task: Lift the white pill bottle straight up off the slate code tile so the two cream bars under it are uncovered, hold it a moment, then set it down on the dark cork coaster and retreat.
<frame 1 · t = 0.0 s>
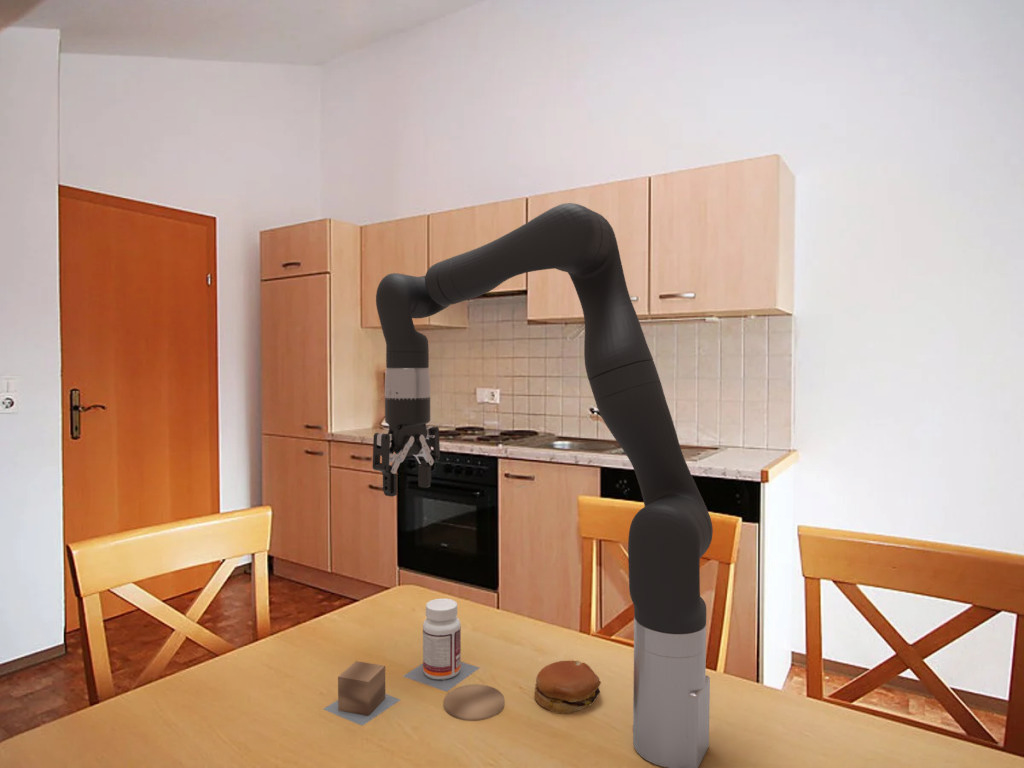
hand: (408, 491, 106), 29 cm above the table, tool pointing down, fingers open, 8 cm apart
coaster: (474, 703, 94), on the table
pill bottle: (441, 672, 104), resting on code tile A
code tile B: (362, 704, 94), on the table
code tile A: (441, 672, 104), on the table
burger: (567, 700, 96), on the table
walnut block: (362, 704, 94), resting on code tile B
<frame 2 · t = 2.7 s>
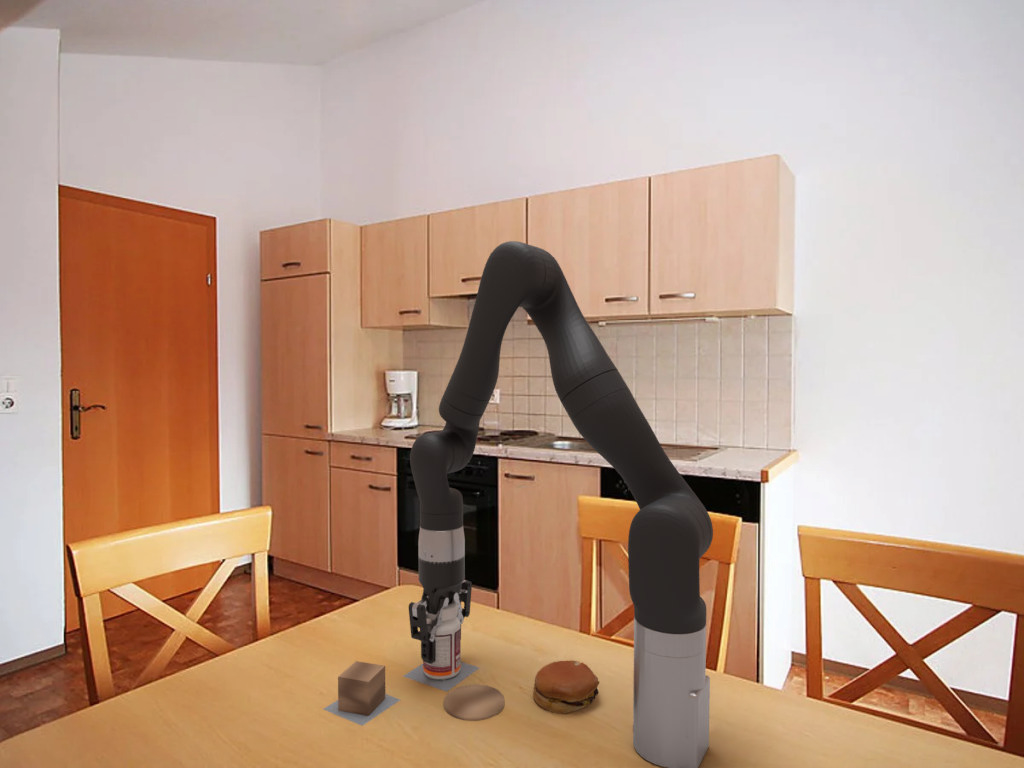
hand: (441, 653, 104), 3 cm above the table, tool pointing down, fingers closed on pill bottle, 6 cm apart
pill bottle: (441, 672, 104), resting on code tile A, touching gripper
everything else where it was.
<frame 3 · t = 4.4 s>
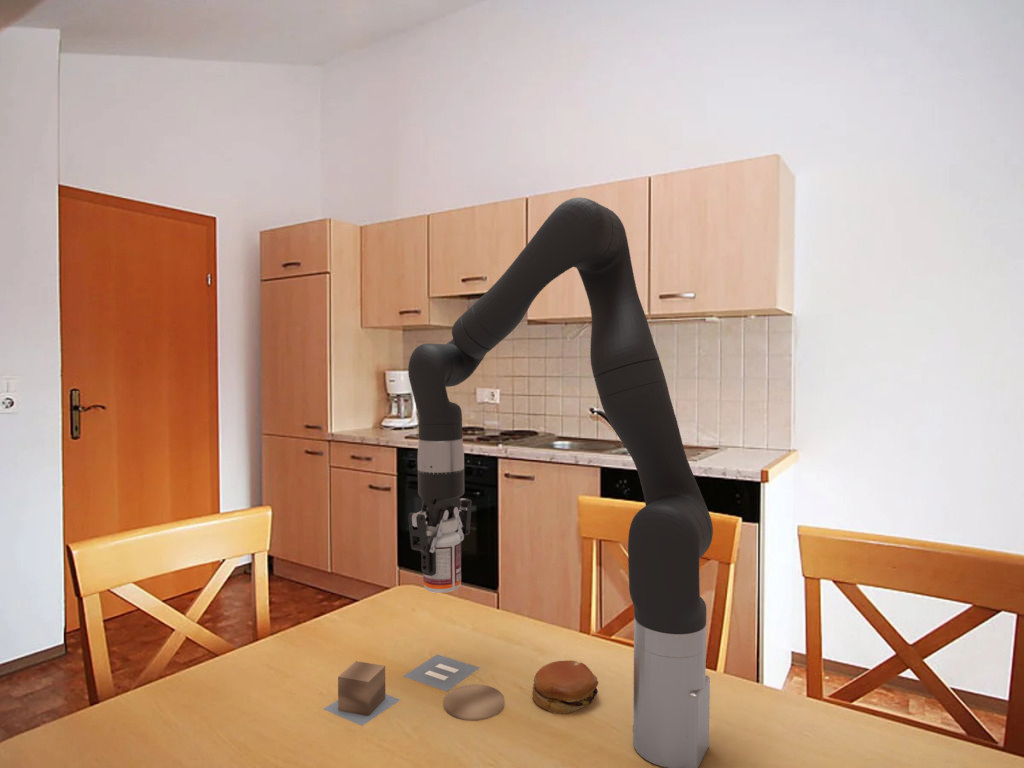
hand: (442, 568, 103), 17 cm above the table, tool pointing down, fingers closed on pill bottle, 6 cm apart
pill bottle: (442, 588, 103), point 14 cm above the table, touching gripper
everything else where it was.
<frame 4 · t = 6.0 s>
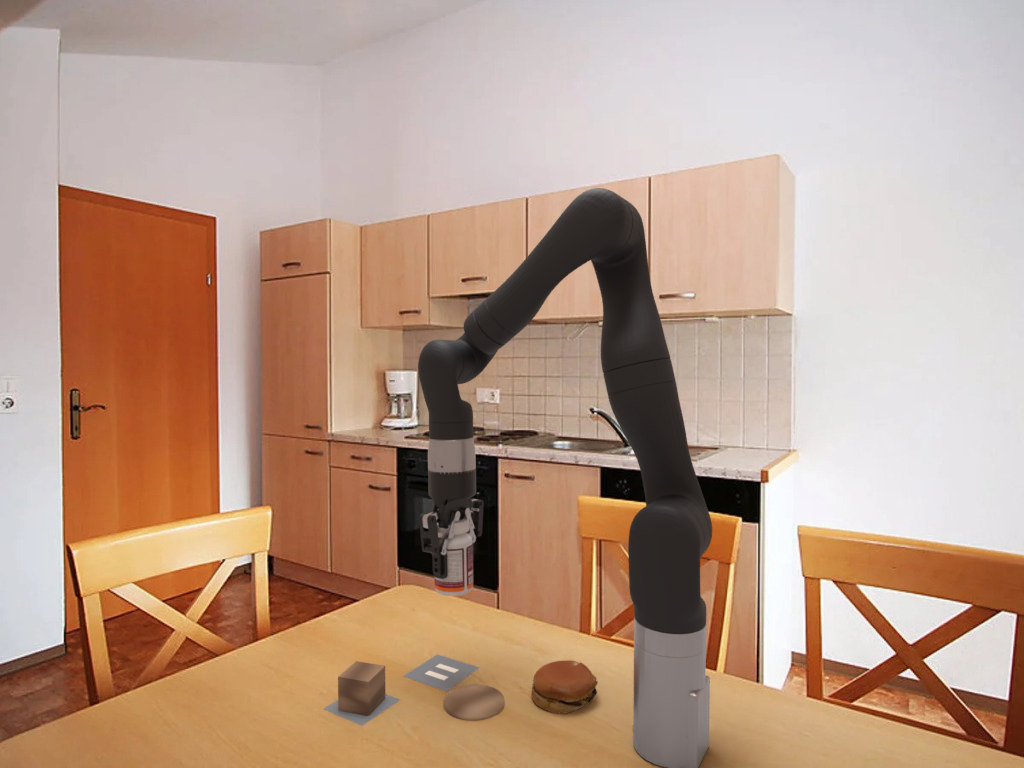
hand: (454, 571, 100), 18 cm above the table, tool pointing down, fingers closed on pill bottle, 6 cm apart
pill bottle: (454, 591, 100), point 15 cm above the table, touching gripper
everything else where it was.
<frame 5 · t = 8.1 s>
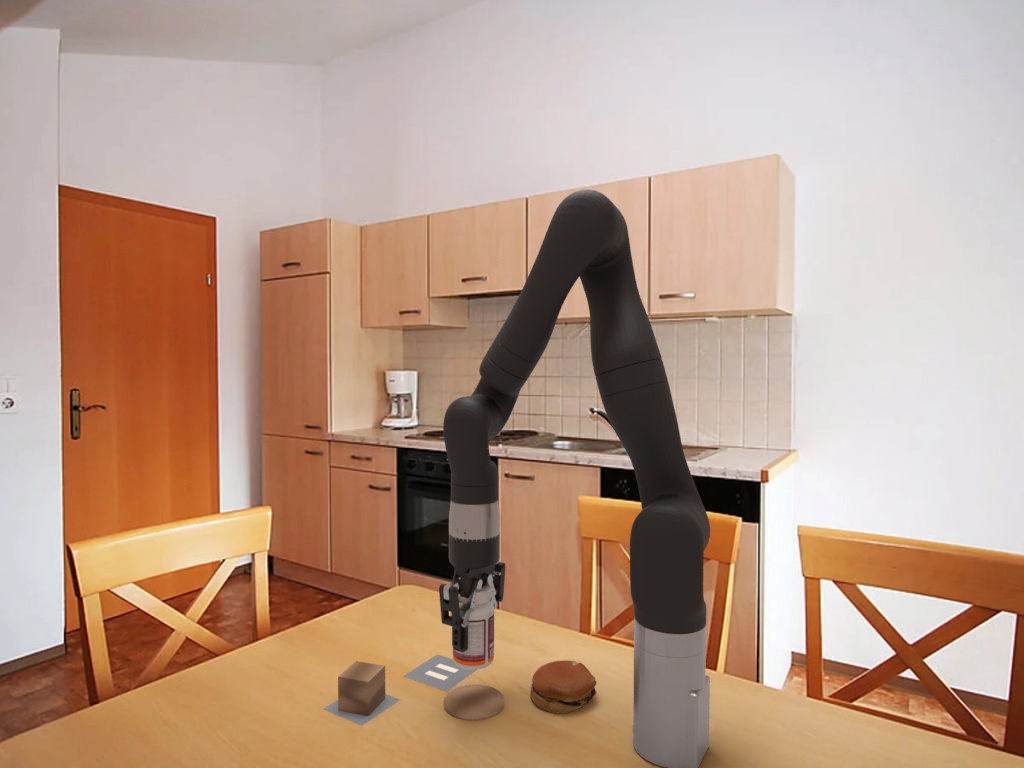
hand: (473, 641, 94), 10 cm above the table, tool pointing down, fingers closed on pill bottle, 6 cm apart
pill bottle: (473, 662, 94), point 6 cm above the table, touching gripper
everything else where it was.
when the fingers open (5 cm above the table, at t = 9.6 s): pill bottle drops 1 cm, resting on coaster.
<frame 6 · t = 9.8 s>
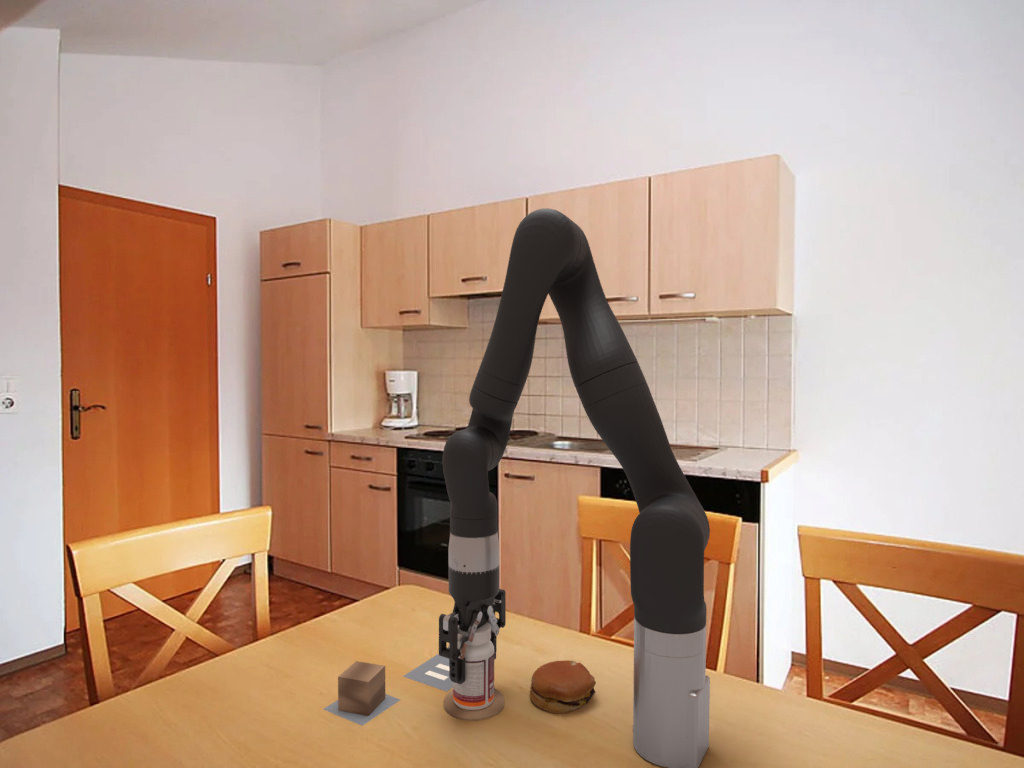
hand: (474, 670, 94), 5 cm above the table, tool pointing down, fingers open, 7 cm apart
pill bottle: (473, 702, 94), resting on coaster
everything else where it was.
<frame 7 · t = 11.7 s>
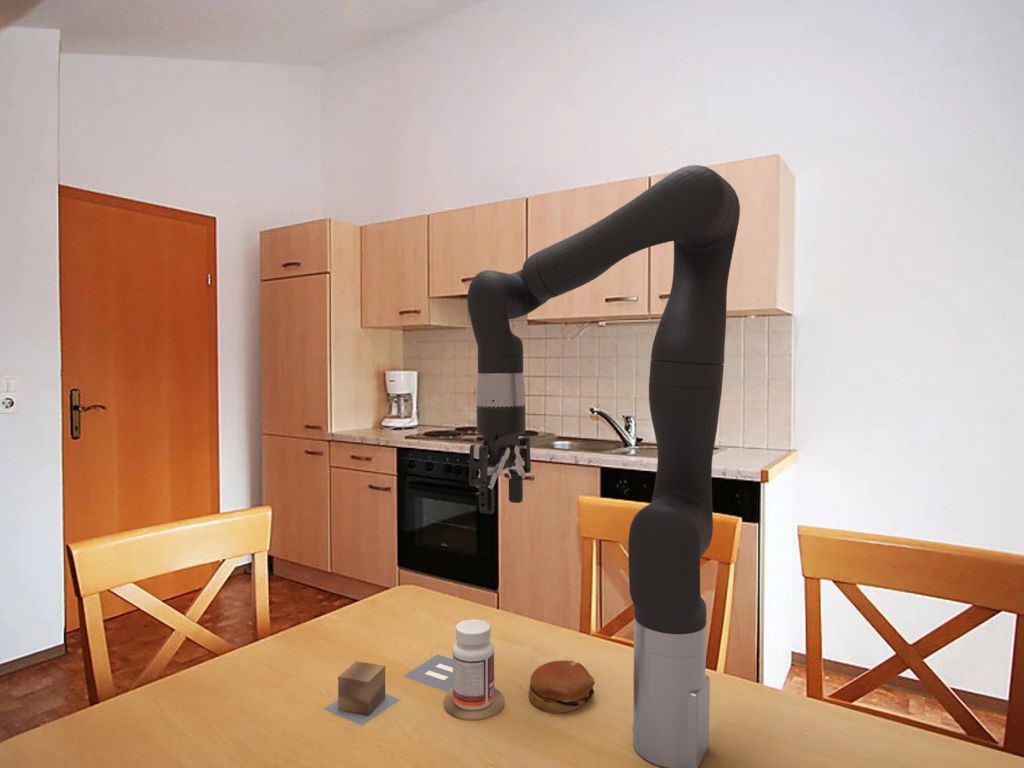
hand: (501, 507, 97), 29 cm above the table, tool pointing down, fingers open, 8 cm apart
nothing on the table moved.
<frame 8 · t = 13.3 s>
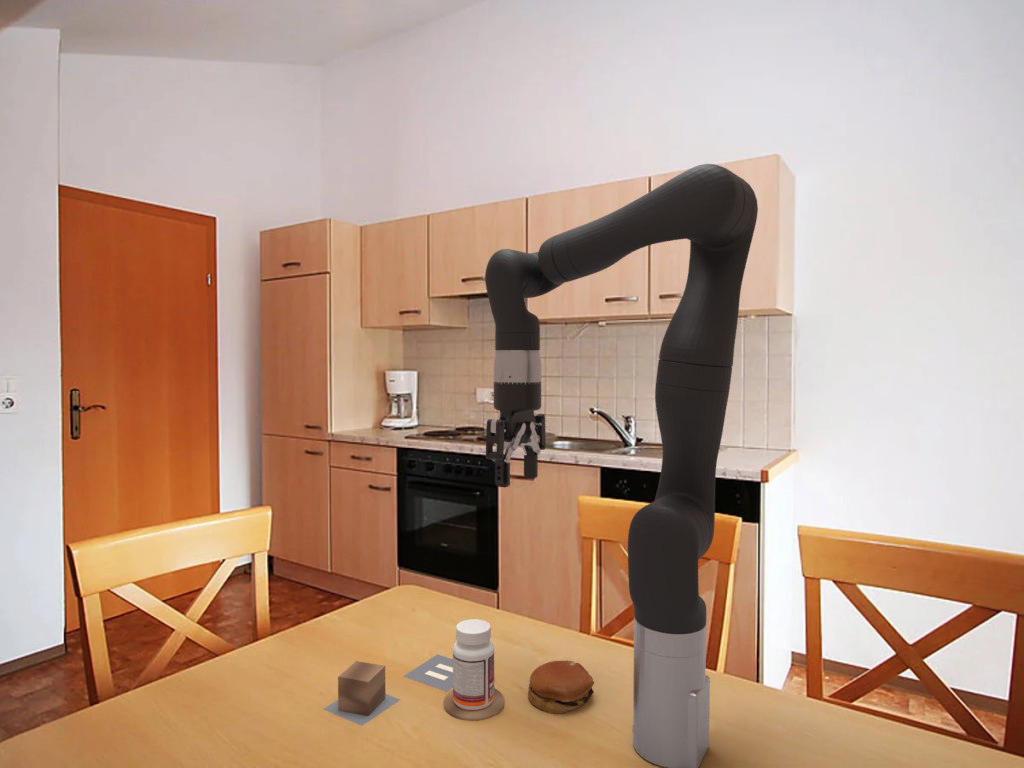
hand: (517, 482, 100), 32 cm above the table, tool pointing down, fingers open, 8 cm apart
nothing on the table moved.
at the end: pill bottle 0.2 cm from the coaster (horizontally); pill bottle tilted 0°; the gripper is holding nothing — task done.
